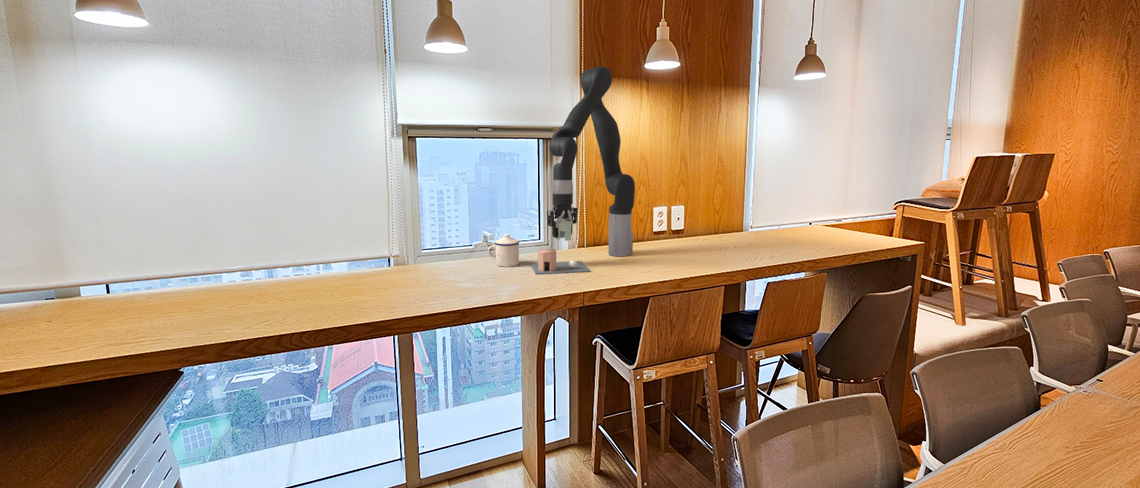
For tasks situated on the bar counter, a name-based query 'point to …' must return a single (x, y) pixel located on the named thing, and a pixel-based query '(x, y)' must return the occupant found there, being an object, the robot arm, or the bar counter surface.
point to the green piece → (564, 230)
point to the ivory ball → (572, 264)
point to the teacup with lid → (506, 251)
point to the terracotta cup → (547, 259)
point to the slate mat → (561, 268)
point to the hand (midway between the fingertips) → (562, 236)
